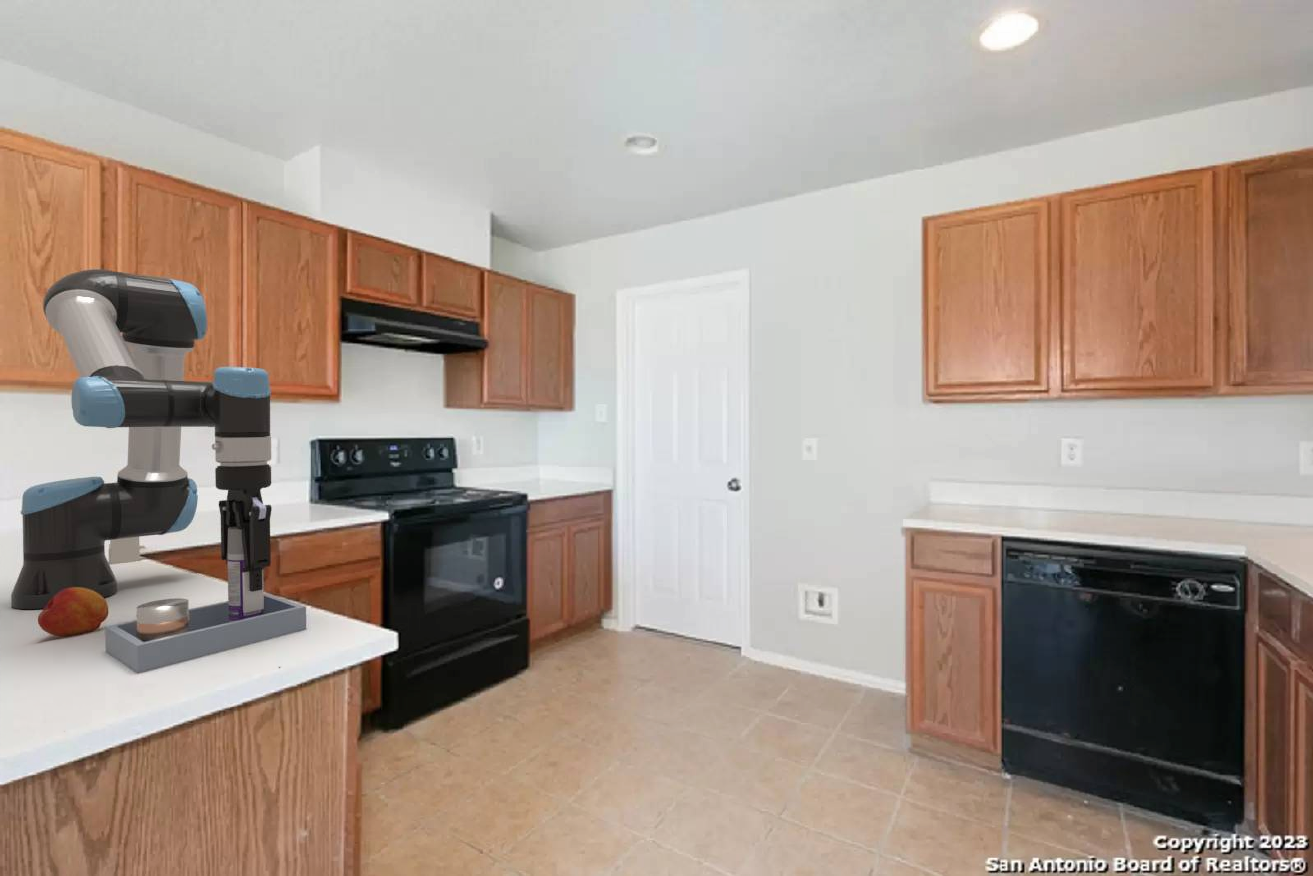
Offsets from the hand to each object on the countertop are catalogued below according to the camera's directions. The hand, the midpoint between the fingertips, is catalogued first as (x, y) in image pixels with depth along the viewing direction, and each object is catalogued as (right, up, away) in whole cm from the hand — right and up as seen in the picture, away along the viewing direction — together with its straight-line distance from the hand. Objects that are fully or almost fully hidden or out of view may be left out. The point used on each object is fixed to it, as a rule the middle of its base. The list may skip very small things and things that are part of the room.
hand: (246, 607), depth 102 cm
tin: (-6, -4, -9) cm, 12 cm away
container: (0, -2, 0) cm, 2 cm away
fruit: (-28, -5, 0) cm, 28 cm away
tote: (-3, -5, -4) cm, 7 cm away
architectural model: (-65, -4, +54) cm, 85 cm away
